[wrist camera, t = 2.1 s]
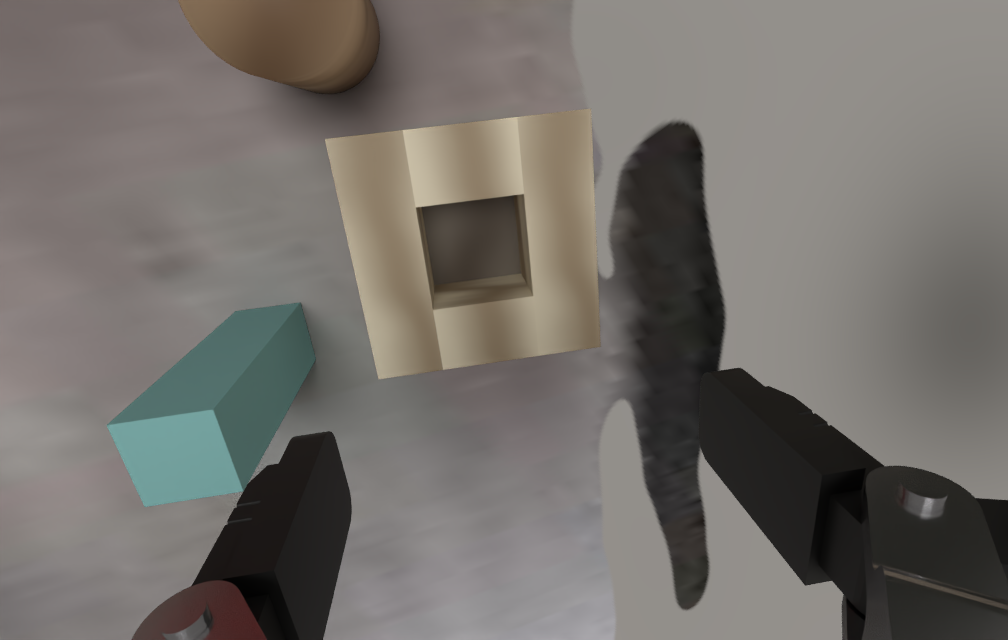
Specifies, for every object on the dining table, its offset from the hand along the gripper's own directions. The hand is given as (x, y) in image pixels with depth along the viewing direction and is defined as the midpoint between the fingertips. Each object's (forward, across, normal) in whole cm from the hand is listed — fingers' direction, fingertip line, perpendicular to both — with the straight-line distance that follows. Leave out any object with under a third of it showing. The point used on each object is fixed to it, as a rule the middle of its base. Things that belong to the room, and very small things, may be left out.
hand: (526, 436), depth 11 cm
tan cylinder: (+22, -7, +12) cm, 26 cm away
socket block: (+22, 0, 0) cm, 22 cm away
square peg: (+22, -13, -5) cm, 26 cm away
